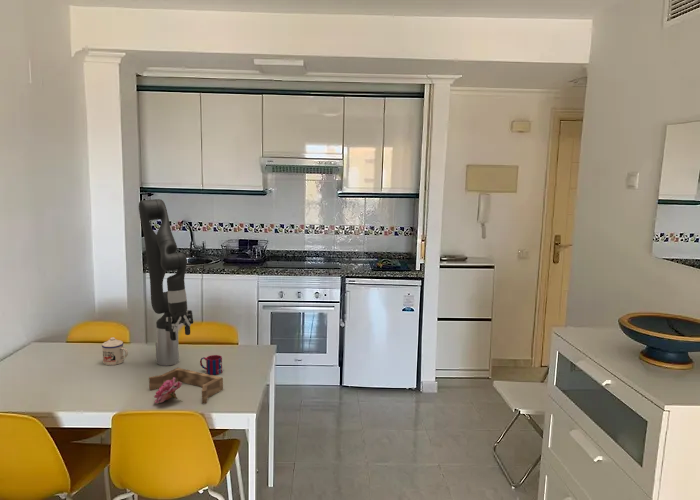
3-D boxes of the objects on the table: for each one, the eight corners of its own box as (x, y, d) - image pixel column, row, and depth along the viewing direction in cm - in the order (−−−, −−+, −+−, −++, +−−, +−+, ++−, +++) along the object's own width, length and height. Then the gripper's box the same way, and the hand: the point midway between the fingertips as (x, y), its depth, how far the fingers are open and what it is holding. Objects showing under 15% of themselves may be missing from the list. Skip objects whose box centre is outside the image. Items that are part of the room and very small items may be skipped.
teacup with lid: (98, 364, 241) (96, 340, 239) (111, 358, 250) (110, 334, 248) (121, 367, 238) (120, 342, 236) (134, 360, 247) (132, 336, 245)
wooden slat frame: (147, 389, 214) (147, 377, 213) (173, 377, 227) (172, 366, 226) (204, 404, 202) (204, 391, 201) (228, 390, 214) (228, 378, 213)
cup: (216, 376, 229) (216, 361, 228) (197, 372, 233) (196, 358, 232) (225, 370, 236) (224, 356, 235) (206, 367, 239) (205, 353, 238)
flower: (152, 412, 201) (146, 387, 205) (176, 406, 208) (170, 382, 212) (163, 403, 194) (157, 377, 198) (188, 397, 201) (182, 372, 205)
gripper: (182, 296, 232) (185, 332, 234) (158, 303, 219) (161, 341, 221) (195, 297, 229) (198, 333, 230) (172, 304, 216) (175, 342, 218)
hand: (180, 337), depth 226 cm, fingers open, 8 cm apart
